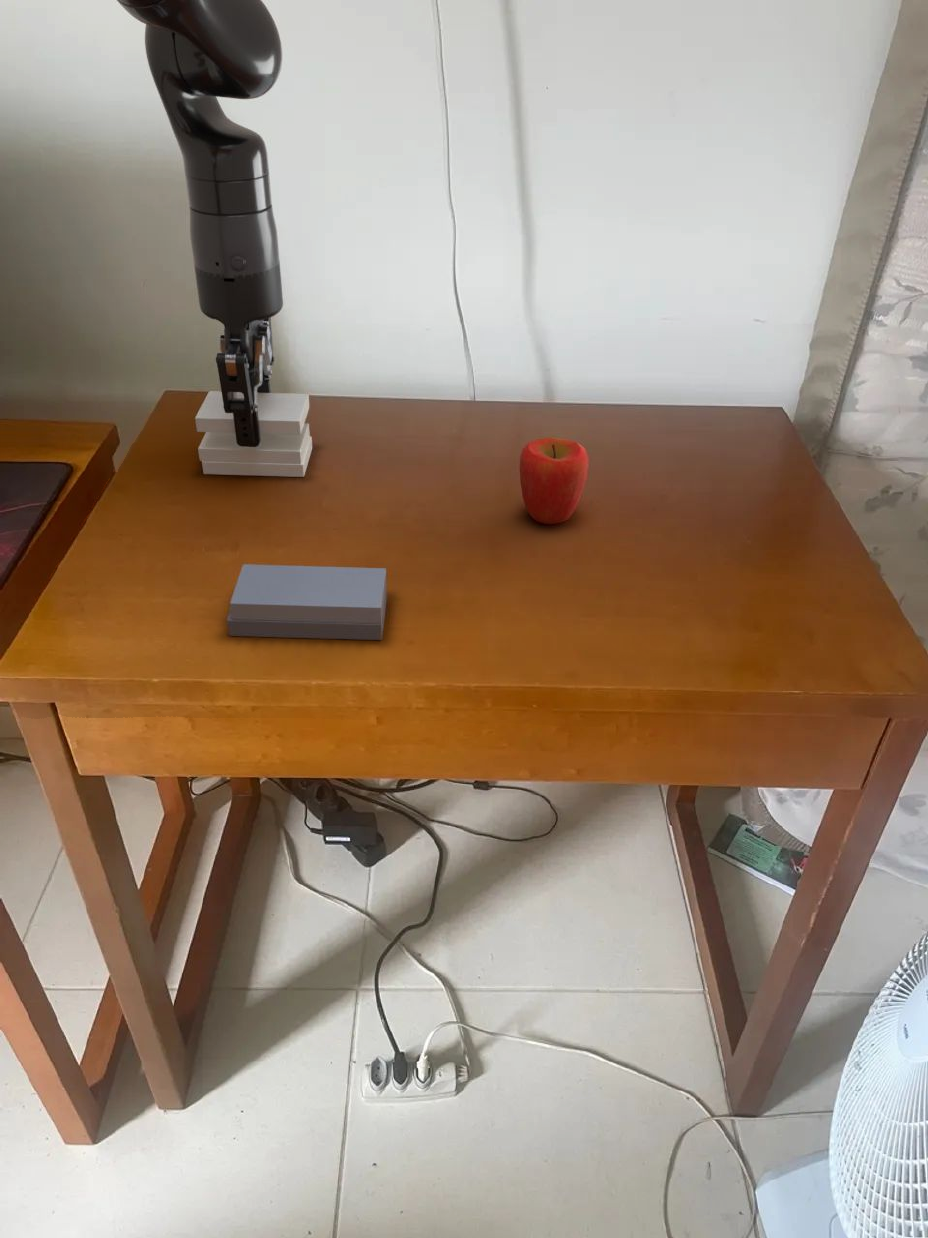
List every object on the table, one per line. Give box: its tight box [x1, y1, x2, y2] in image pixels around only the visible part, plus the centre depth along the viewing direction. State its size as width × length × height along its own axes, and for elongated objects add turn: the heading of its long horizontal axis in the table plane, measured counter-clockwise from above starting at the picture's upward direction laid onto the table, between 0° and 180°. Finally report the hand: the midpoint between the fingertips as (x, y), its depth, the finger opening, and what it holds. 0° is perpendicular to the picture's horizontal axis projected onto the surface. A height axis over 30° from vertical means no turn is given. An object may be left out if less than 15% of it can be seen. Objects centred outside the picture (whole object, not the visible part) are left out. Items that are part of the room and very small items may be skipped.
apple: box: [519, 437, 590, 525], centre depth 91 cm, size 6×6×8 cm
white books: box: [197, 422, 313, 478], centre depth 99 cm, size 10×6×3 cm, turn 89°
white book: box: [194, 390, 310, 435], centre depth 97 cm, size 10×6×2 cm, turn 89°
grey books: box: [226, 563, 388, 641], centre depth 78 cm, size 12×6×3 cm, turn 89°
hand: (255, 428), depth 98 cm, fingers closed on white book, 6 cm apart
